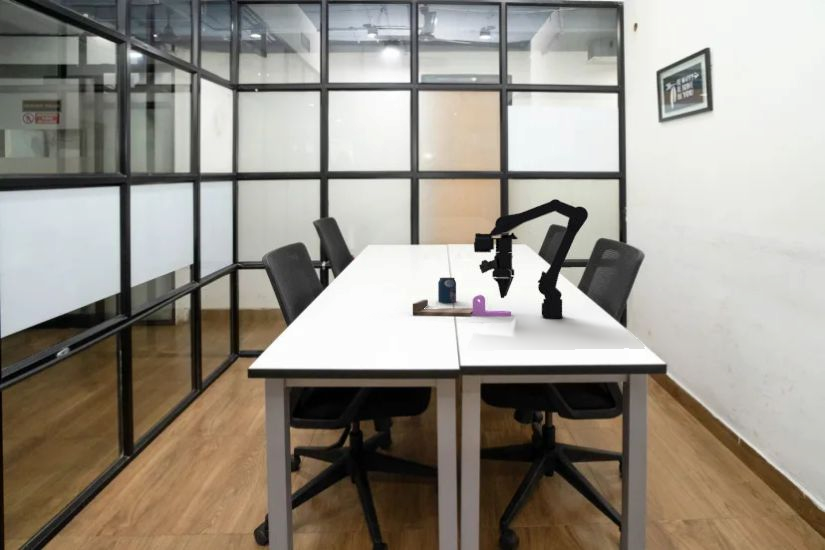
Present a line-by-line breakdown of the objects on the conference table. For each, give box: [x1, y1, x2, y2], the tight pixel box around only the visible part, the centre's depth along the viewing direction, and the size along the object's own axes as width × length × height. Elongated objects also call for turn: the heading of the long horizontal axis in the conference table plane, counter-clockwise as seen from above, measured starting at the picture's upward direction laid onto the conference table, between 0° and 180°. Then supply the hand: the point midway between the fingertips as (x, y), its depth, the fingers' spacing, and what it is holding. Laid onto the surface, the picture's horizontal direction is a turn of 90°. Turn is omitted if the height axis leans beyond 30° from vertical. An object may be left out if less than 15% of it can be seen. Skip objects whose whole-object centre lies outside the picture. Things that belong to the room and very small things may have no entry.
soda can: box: [437, 277, 457, 304], centre depth 225 cm, size 7×7×12 cm
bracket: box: [472, 294, 512, 317], centre depth 202 cm, size 13×6×7 cm, turn 76°
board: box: [412, 299, 473, 317], centre depth 209 cm, size 20×18×4 cm
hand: (503, 297), depth 203 cm, fingers open, 9 cm apart
